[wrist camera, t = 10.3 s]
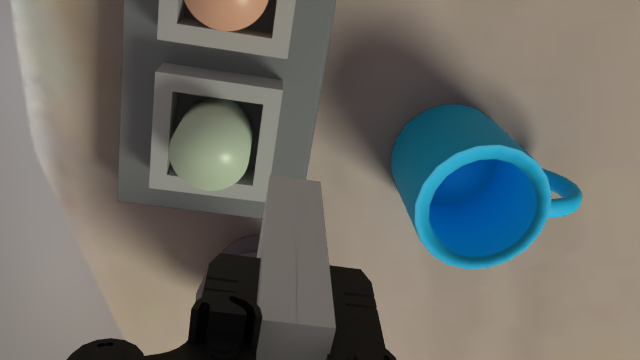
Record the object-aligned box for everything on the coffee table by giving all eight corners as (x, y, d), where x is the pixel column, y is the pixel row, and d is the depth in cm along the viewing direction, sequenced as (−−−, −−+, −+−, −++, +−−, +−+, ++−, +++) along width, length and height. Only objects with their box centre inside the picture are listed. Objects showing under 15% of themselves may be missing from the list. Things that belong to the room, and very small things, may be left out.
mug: (381, 205, 43) (402, 263, 35) (401, 97, 39) (429, 137, 32) (536, 219, 44) (588, 278, 36) (568, 116, 41) (632, 158, 33)
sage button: (183, 91, 35) (171, 111, 31) (256, 102, 35) (253, 122, 31) (178, 159, 36) (166, 185, 33) (248, 168, 37) (244, 195, 33)
